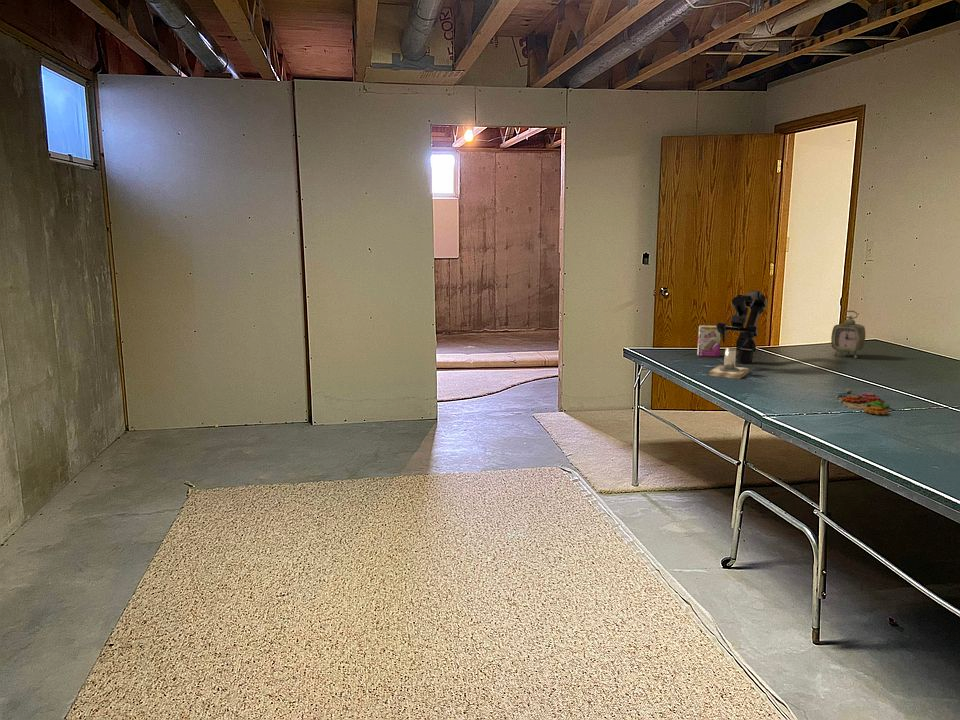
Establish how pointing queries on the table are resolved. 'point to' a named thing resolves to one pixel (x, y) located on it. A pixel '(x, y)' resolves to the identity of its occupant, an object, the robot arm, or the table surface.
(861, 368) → the table surface
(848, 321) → the tabletop clock
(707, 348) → the candy bar box
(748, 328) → the robot arm
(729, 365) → the canister
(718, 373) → the plinth
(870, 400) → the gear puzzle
